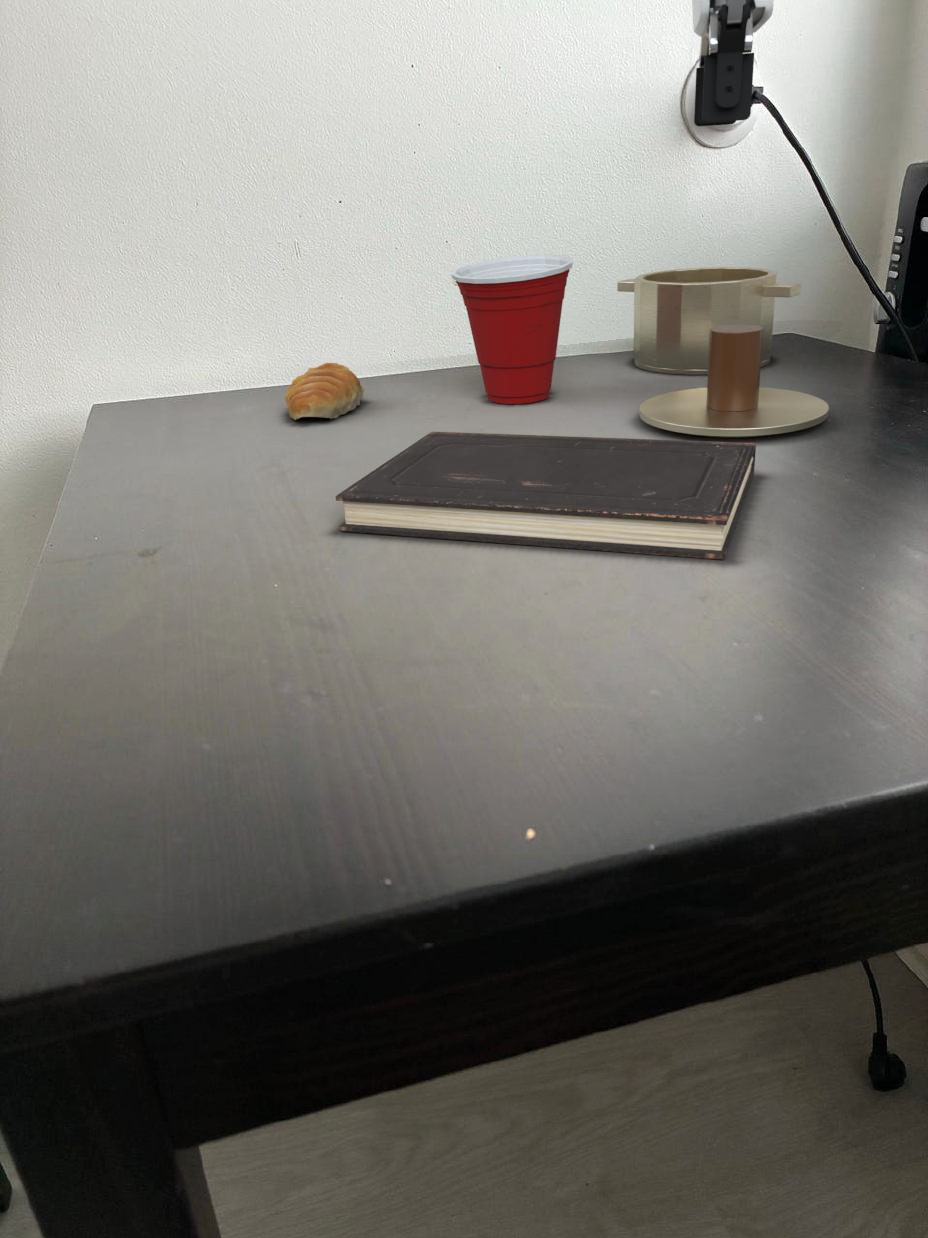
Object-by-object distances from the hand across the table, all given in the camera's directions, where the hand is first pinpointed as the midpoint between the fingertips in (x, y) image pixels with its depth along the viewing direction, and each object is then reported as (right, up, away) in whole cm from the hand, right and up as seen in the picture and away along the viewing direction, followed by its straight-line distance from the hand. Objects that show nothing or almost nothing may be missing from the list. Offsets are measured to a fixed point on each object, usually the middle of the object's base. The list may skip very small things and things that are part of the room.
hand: (720, 122), depth 73 cm
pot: (+6, -10, +30) cm, 32 cm away
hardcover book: (-13, -29, -9) cm, 33 cm away
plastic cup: (-14, -16, +19) cm, 29 cm away
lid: (+3, -20, +7) cm, 21 cm away
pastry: (-31, -17, +19) cm, 41 cm away
